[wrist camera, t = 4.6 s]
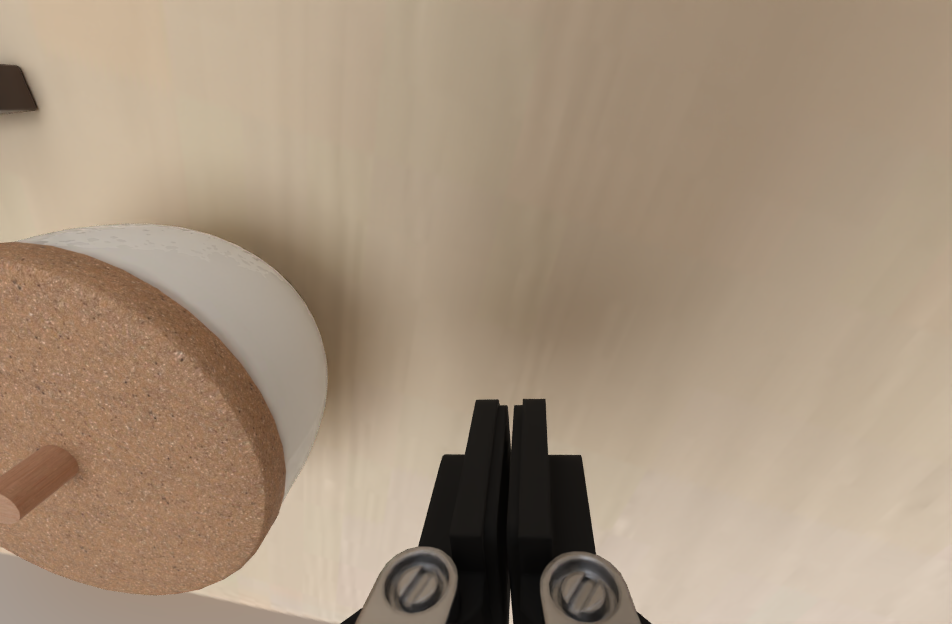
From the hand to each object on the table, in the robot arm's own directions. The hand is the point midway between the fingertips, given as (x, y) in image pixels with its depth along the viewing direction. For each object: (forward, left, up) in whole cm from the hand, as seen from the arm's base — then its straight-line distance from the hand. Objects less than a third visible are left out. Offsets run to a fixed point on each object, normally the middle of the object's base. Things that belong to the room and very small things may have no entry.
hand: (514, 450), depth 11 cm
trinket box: (+11, 0, -7) cm, 13 cm away
